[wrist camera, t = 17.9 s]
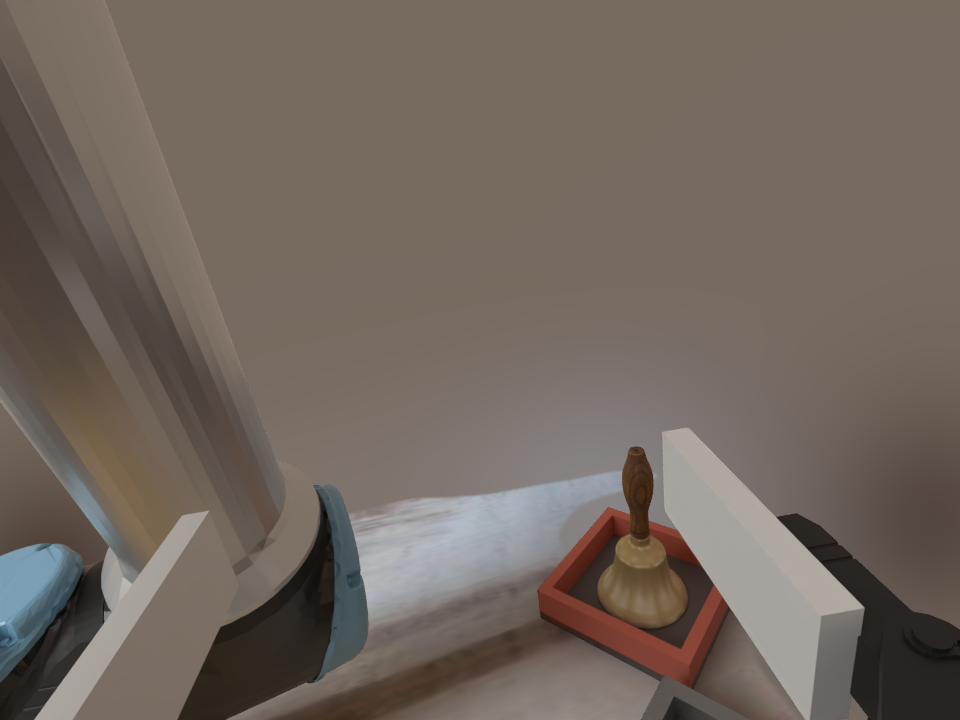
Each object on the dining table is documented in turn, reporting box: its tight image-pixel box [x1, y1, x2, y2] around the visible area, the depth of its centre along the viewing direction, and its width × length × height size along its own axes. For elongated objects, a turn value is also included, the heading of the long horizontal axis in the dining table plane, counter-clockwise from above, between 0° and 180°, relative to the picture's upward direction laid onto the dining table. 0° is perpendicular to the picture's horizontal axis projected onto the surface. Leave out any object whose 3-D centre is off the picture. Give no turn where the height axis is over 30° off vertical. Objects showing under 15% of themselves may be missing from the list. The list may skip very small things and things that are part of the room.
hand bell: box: [597, 447, 689, 629], centre depth 47 cm, size 8×8×16 cm
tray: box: [537, 507, 730, 689], centre depth 50 cm, size 14×14×3 cm
